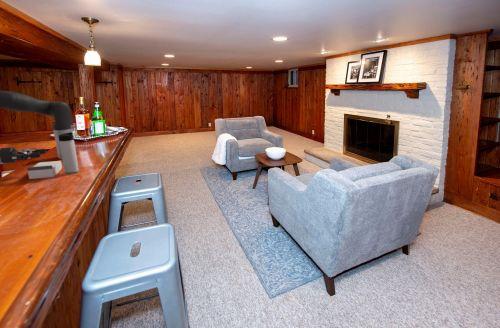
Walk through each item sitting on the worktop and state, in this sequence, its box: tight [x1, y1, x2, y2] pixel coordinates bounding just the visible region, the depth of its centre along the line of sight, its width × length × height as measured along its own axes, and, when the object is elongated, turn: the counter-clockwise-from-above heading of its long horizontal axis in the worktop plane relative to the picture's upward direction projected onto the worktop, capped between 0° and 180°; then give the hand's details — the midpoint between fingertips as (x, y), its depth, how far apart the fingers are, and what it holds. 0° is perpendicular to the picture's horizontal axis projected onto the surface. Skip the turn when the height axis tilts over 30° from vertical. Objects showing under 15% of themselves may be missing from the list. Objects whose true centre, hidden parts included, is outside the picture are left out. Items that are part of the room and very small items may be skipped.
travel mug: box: [58, 131, 80, 175], centre depth 148 cm, size 6×7×20 cm
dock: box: [26, 160, 63, 180], centre depth 149 cm, size 16×10×6 cm, turn 19°
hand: (42, 152), depth 144 cm, fingers open, 8 cm apart
